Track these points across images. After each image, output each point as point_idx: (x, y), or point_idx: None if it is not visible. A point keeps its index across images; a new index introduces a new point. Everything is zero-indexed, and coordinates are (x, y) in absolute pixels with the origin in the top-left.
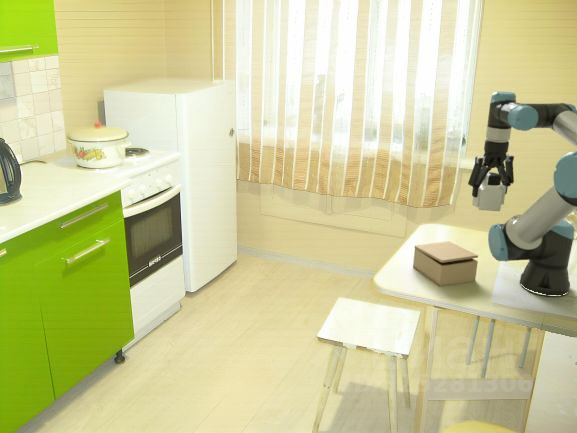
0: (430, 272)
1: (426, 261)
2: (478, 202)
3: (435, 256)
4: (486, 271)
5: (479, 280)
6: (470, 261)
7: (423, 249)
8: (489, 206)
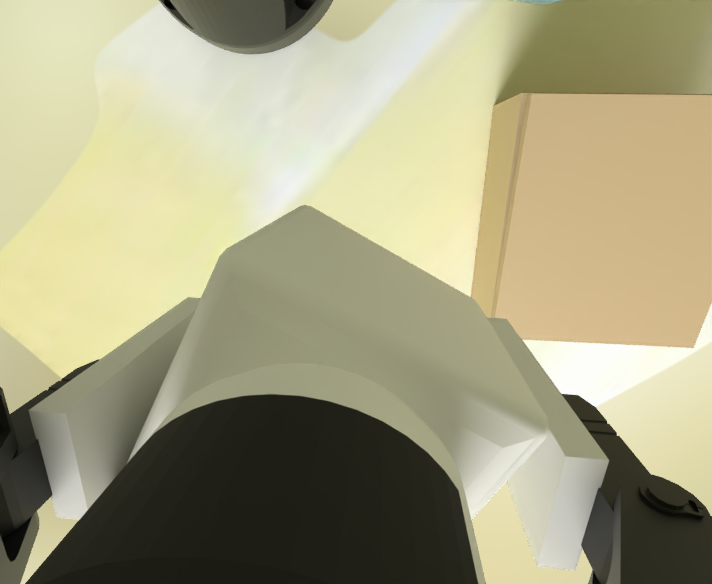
0: None
1: None
2: (511, 338)
3: None
4: (381, 169)
5: (473, 101)
6: None
7: (708, 288)
8: (399, 265)
